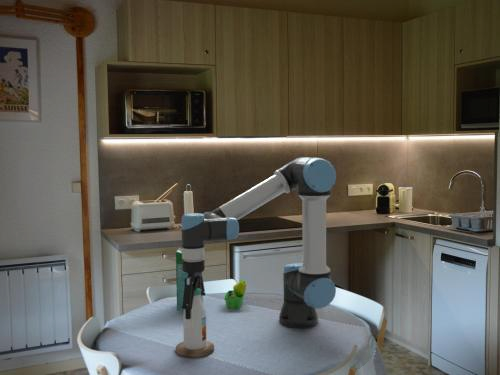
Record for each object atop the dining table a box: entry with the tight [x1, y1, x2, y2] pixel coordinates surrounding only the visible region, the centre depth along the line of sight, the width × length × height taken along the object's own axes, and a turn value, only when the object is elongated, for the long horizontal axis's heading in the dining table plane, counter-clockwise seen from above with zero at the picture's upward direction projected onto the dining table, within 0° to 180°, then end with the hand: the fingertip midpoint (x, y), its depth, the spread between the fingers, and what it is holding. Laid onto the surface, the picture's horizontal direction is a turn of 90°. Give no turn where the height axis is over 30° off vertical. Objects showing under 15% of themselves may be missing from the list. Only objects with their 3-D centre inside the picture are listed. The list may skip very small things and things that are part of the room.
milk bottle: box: [182, 288, 207, 350], centre depth 184 cm, size 8×8×20 cm
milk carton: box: [175, 247, 188, 311], centre depth 232 cm, size 9×9×25 cm
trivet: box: [175, 340, 215, 359], centre depth 185 cm, size 13×13×1 cm
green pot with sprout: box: [223, 279, 247, 310], centre depth 233 cm, size 11×9×11 cm
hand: (194, 321), depth 184 cm, fingers open, 13 cm apart
